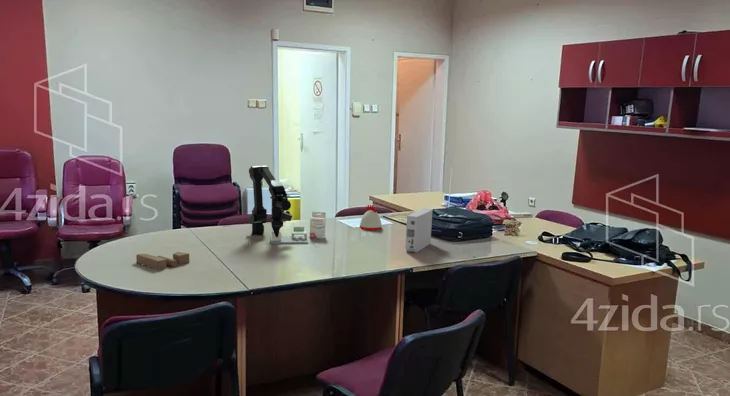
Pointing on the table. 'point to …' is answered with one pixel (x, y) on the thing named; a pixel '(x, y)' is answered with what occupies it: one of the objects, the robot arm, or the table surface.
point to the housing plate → (290, 240)
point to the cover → (299, 231)
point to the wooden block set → (162, 260)
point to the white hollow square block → (276, 237)
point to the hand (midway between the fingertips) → (276, 235)
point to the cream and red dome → (371, 220)
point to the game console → (418, 230)
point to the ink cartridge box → (317, 225)
